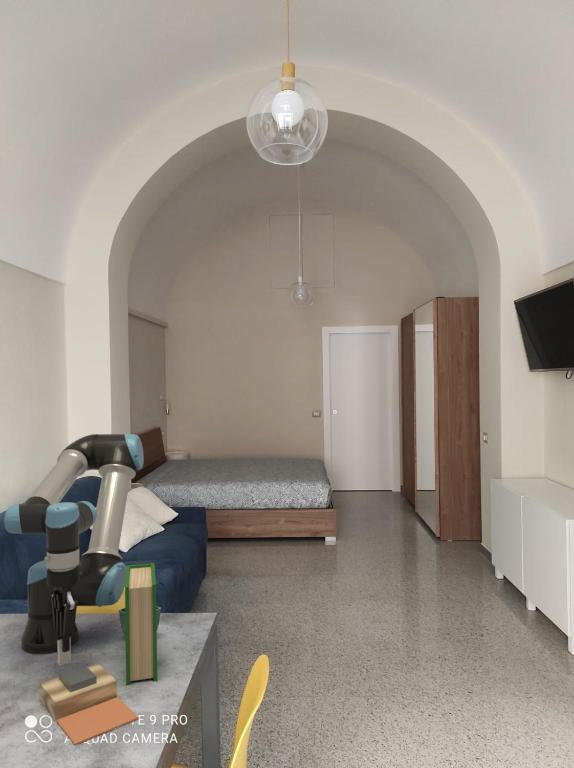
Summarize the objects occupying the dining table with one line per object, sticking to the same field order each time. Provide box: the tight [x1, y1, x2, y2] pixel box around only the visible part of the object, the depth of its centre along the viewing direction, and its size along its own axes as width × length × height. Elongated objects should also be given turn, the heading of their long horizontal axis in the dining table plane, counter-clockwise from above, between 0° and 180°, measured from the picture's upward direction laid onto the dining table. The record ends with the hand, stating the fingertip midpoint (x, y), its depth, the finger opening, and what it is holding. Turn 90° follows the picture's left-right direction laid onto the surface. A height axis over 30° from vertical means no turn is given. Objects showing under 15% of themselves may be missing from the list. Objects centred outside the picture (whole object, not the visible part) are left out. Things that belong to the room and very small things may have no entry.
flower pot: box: [118, 605, 162, 638], centre depth 165 cm, size 9×9×9 cm
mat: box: [56, 696, 140, 746], centre depth 125 cm, size 11×14×1 cm
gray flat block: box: [58, 663, 97, 692], centre depth 135 cm, size 8×6×2 cm
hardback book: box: [124, 562, 158, 686], centre depth 150 cm, size 18×7×24 cm, turn 14°
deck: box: [39, 663, 118, 722], centre depth 134 cm, size 11×14×4 cm
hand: (64, 662), depth 141 cm, fingers closed
